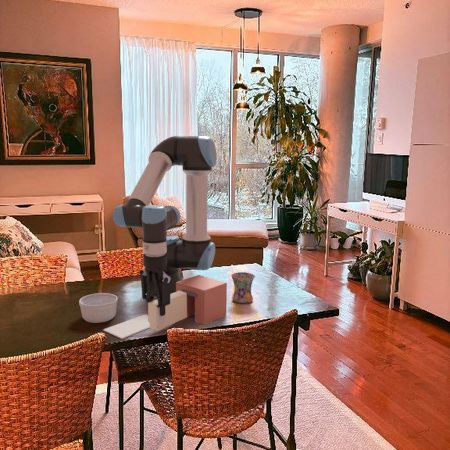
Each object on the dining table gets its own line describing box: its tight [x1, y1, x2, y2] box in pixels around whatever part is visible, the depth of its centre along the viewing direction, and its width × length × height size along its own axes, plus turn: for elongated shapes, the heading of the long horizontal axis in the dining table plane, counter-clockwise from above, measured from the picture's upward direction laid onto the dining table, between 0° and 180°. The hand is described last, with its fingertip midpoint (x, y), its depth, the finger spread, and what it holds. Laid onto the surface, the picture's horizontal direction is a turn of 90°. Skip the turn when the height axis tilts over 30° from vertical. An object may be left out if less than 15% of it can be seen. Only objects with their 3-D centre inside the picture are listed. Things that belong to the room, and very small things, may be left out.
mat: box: [103, 314, 151, 340], centre depth 154 cm, size 10×18×1 cm, turn 140°
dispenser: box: [176, 274, 228, 326], centre depth 164 cm, size 14×13×12 cm
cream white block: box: [149, 291, 188, 332], centre depth 152 cm, size 4×14×9 cm, turn 140°
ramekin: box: [78, 292, 119, 324], centre depth 161 cm, size 13×13×7 cm
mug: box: [230, 271, 256, 304], centre depth 181 cm, size 12×9×11 cm
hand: (156, 322), depth 148 cm, fingers closed on cream white block, 3 cm apart
